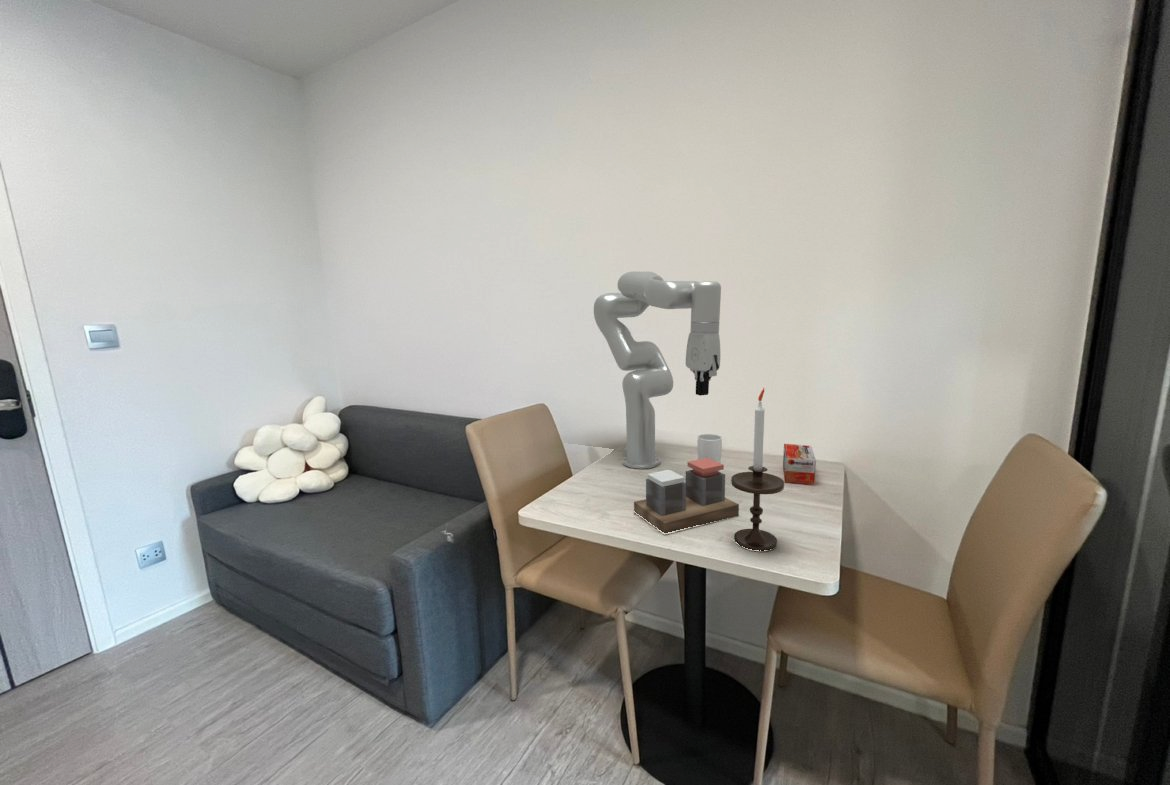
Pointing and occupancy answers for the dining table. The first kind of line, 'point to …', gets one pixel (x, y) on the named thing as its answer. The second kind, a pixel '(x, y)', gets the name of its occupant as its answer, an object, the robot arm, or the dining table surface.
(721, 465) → the red plunger
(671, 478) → the grey plunger
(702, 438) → the drinking glass
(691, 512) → the board
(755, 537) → the candlestick
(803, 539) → the dining table surface
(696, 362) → the robot arm
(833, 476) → the dining table surface
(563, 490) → the dining table surface
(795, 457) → the medicine box
